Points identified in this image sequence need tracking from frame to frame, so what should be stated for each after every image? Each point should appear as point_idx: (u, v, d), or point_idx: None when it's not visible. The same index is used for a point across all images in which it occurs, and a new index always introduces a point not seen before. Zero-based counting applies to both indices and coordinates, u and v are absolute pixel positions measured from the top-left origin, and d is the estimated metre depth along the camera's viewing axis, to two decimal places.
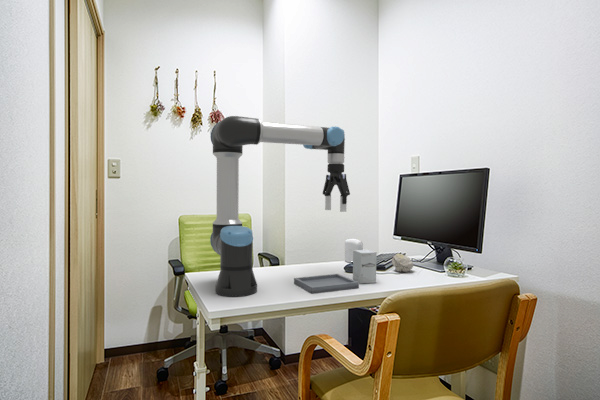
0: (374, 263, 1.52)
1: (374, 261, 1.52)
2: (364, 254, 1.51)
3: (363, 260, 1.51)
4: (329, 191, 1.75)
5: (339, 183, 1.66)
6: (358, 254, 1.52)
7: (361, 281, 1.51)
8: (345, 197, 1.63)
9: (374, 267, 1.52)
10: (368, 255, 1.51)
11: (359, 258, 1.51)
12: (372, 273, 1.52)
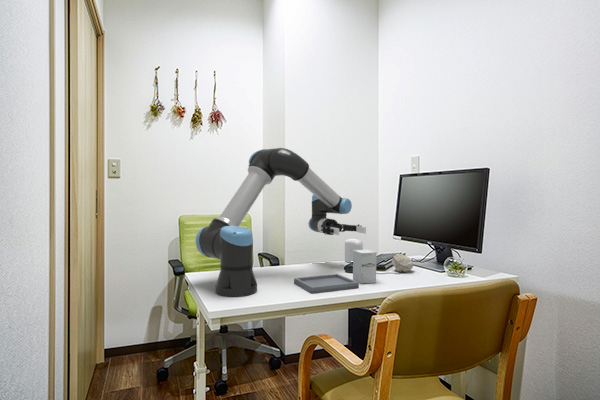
0: (374, 263, 1.52)
1: (374, 261, 1.52)
2: (364, 254, 1.51)
3: (363, 260, 1.51)
4: None
5: None
6: (358, 254, 1.52)
7: (361, 281, 1.51)
8: None
9: (374, 267, 1.52)
10: (368, 255, 1.51)
11: (359, 258, 1.51)
12: (372, 273, 1.52)
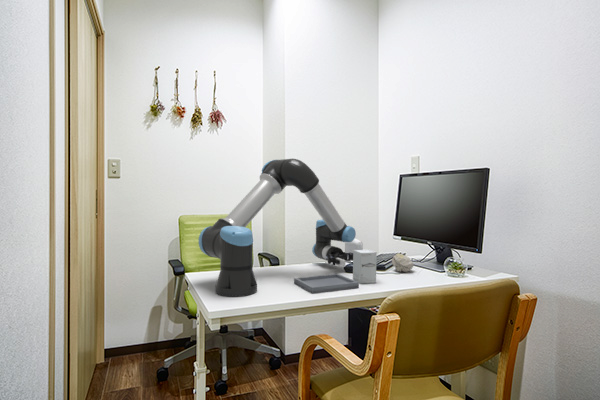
0: (374, 263, 1.52)
1: (374, 261, 1.52)
2: (364, 254, 1.51)
3: (363, 260, 1.51)
4: None
5: None
6: (358, 254, 1.52)
7: (361, 281, 1.51)
8: None
9: (374, 267, 1.52)
10: (368, 255, 1.51)
11: (359, 258, 1.51)
12: (372, 273, 1.52)
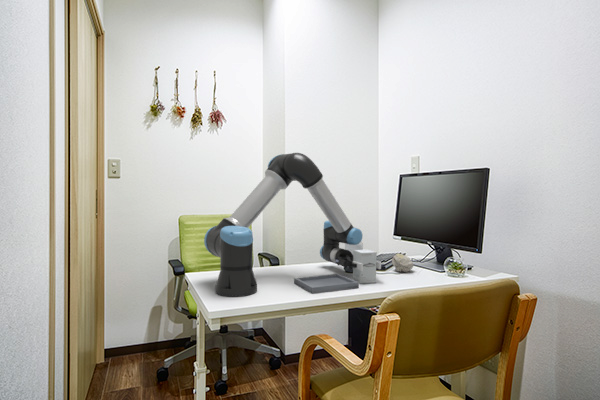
0: (374, 263, 1.52)
1: (374, 261, 1.52)
2: (364, 254, 1.51)
3: (363, 260, 1.51)
4: None
5: None
6: (358, 254, 1.52)
7: (361, 281, 1.51)
8: None
9: (374, 267, 1.52)
10: (368, 255, 1.51)
11: (359, 258, 1.51)
12: (372, 273, 1.52)
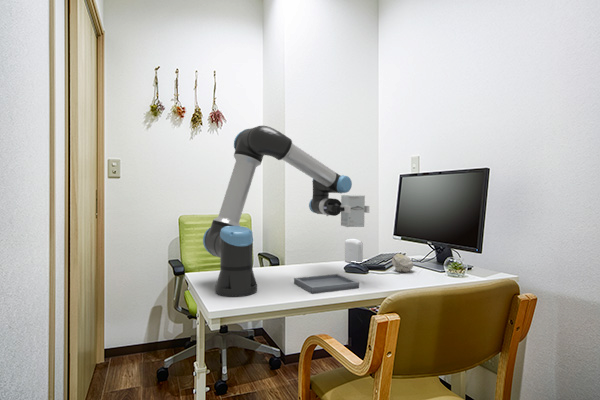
0: (362, 206, 1.49)
1: (362, 204, 1.49)
2: (352, 197, 1.47)
3: (351, 203, 1.47)
4: None
5: None
6: (346, 197, 1.49)
7: (349, 224, 1.48)
8: None
9: (362, 210, 1.49)
10: (356, 198, 1.48)
11: (347, 201, 1.48)
12: (360, 216, 1.49)
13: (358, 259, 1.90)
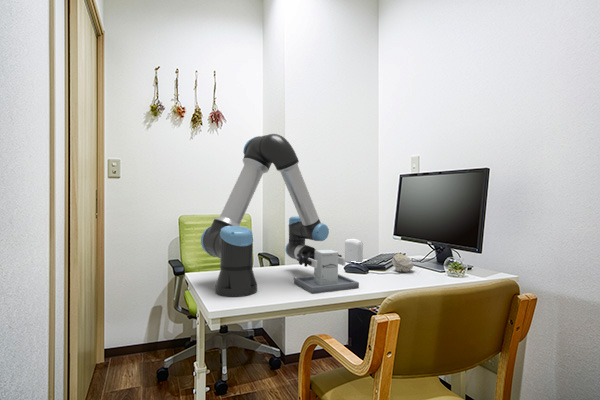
0: (336, 264, 1.45)
1: (336, 262, 1.45)
2: (325, 254, 1.43)
3: (324, 261, 1.43)
4: None
5: None
6: (319, 254, 1.44)
7: (322, 283, 1.43)
8: None
9: (336, 268, 1.45)
10: (329, 255, 1.44)
11: (320, 259, 1.43)
12: (334, 274, 1.44)
13: (358, 259, 1.90)
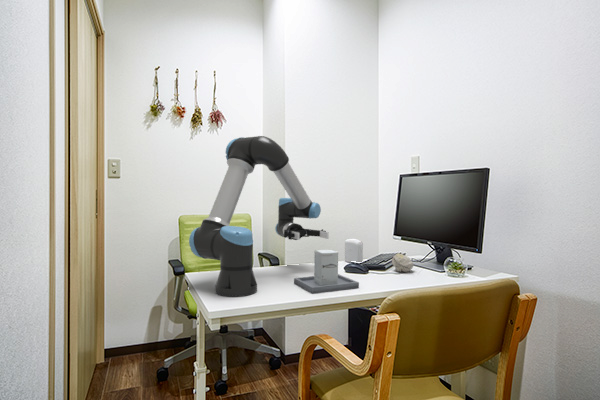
0: (336, 264, 1.45)
1: (336, 262, 1.45)
2: (325, 254, 1.43)
3: (324, 261, 1.43)
4: None
5: None
6: (319, 254, 1.44)
7: (322, 283, 1.43)
8: None
9: (336, 268, 1.45)
10: (329, 255, 1.44)
11: (320, 259, 1.43)
12: (334, 274, 1.44)
13: (358, 259, 1.90)
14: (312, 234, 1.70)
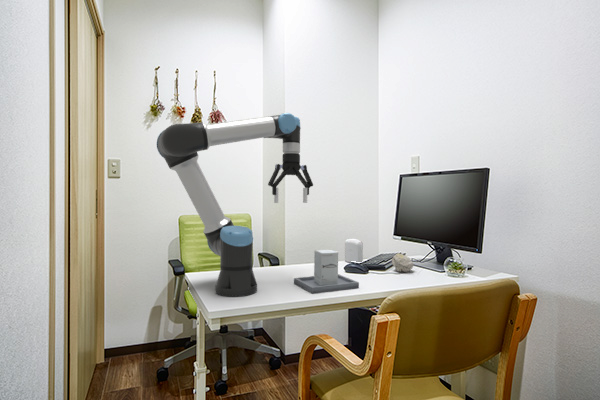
0: (336, 264, 1.45)
1: (336, 262, 1.45)
2: (325, 254, 1.43)
3: (324, 261, 1.43)
4: None
5: None
6: (319, 254, 1.44)
7: (322, 283, 1.43)
8: None
9: (336, 268, 1.45)
10: (329, 255, 1.44)
11: (320, 259, 1.43)
12: (334, 274, 1.44)
13: (358, 259, 1.90)
14: (300, 179, 1.65)
